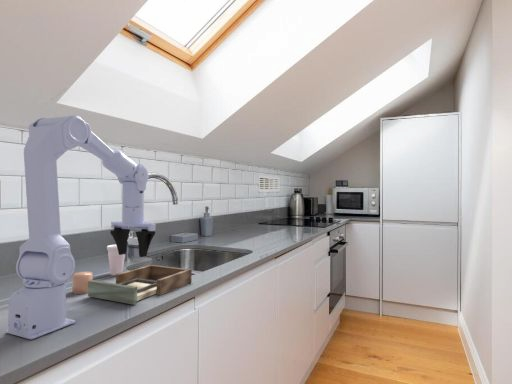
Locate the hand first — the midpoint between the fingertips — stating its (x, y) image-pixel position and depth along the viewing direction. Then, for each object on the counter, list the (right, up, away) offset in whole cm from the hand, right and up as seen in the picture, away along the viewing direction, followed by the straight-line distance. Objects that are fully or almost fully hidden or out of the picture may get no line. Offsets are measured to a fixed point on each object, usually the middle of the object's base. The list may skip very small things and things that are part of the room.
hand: (132, 255), depth 95 cm
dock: (+4, -10, +6) cm, 12 cm away
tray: (+1, -10, -2) cm, 10 cm away
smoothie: (-13, -10, +20) cm, 26 cm away
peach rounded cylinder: (-14, -10, 0) cm, 17 cm away
